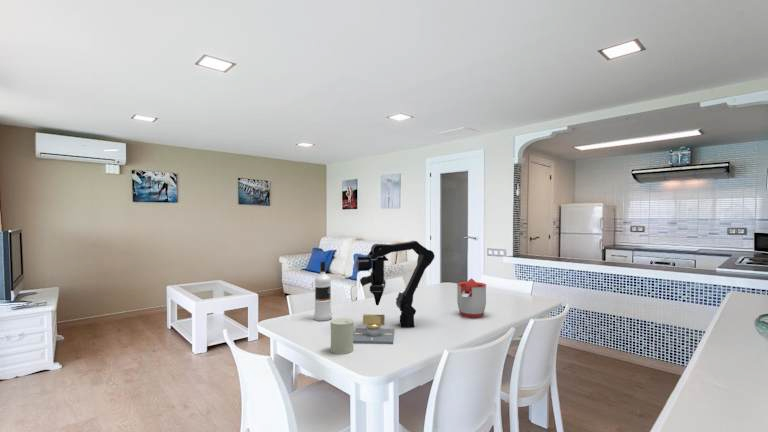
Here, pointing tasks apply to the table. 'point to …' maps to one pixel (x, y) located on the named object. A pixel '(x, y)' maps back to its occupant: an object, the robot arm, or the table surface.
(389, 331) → the post base
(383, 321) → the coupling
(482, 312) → the citrus juicer
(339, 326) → the can
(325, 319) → the vodka
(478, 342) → the table surface
